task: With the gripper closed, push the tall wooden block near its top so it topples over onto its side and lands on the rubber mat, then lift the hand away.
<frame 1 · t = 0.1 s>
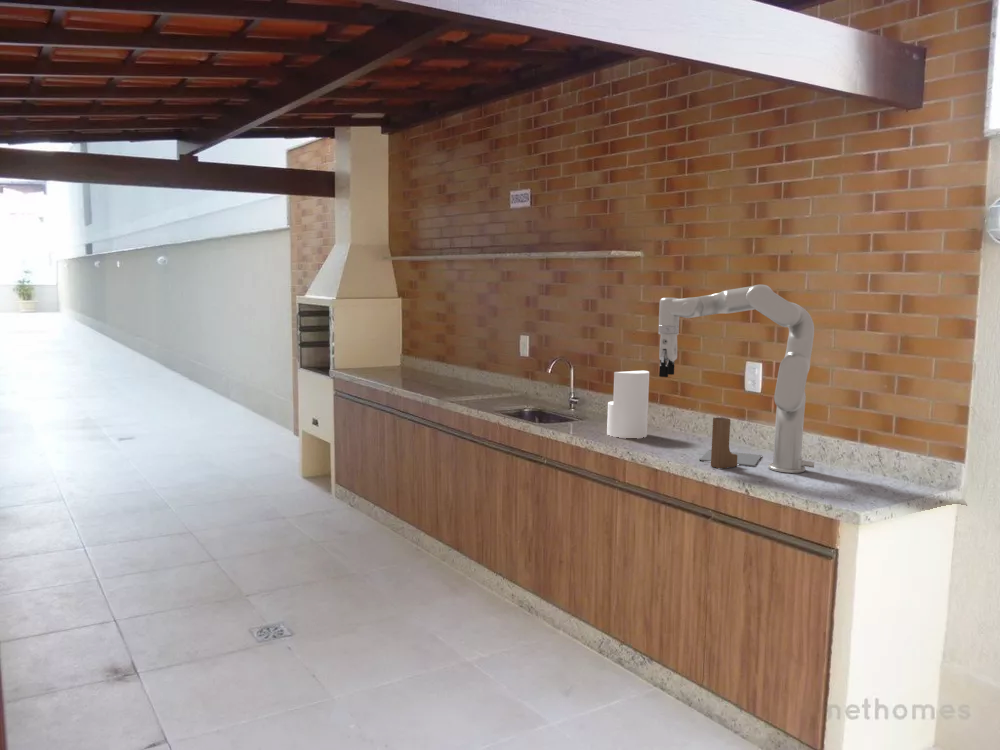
hand: (666, 375, 311), 31 cm above the worktop, tool pointing down, fingers open, 9 cm apart
stepped white pillar: (626, 435, 358), on the worktop
mat: (730, 458, 312), on the worktop
wooden block: (723, 467, 298), on the worktop
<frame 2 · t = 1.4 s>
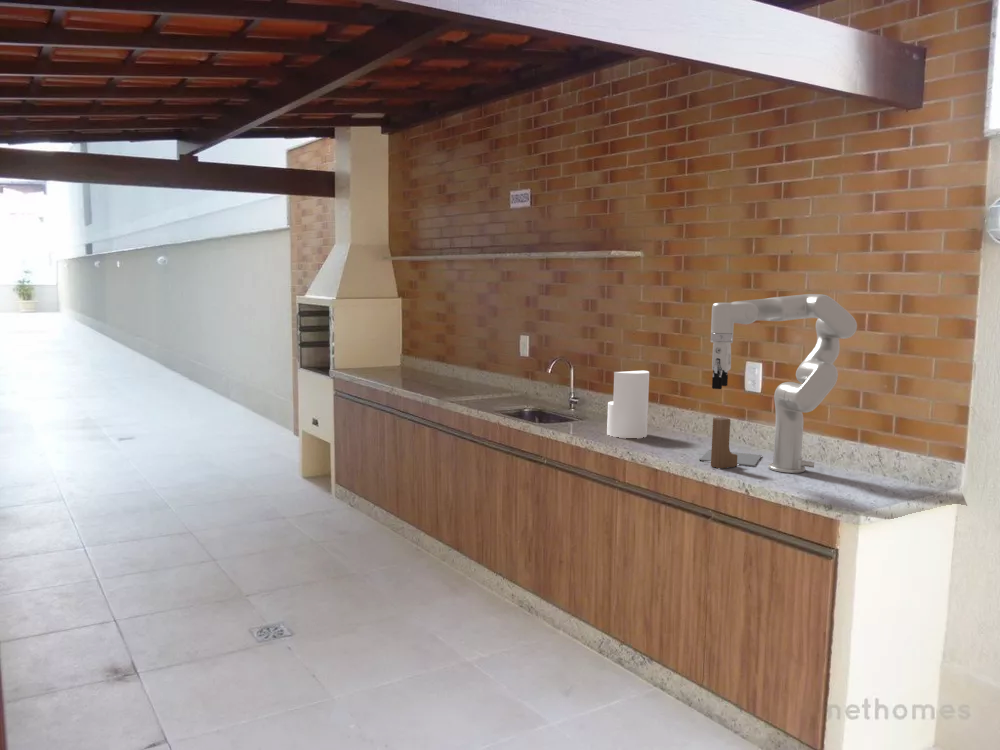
hand: (719, 387, 286), 30 cm above the worktop, tool pointing down, fingers open, 9 cm apart
nothing on the worktop moved.
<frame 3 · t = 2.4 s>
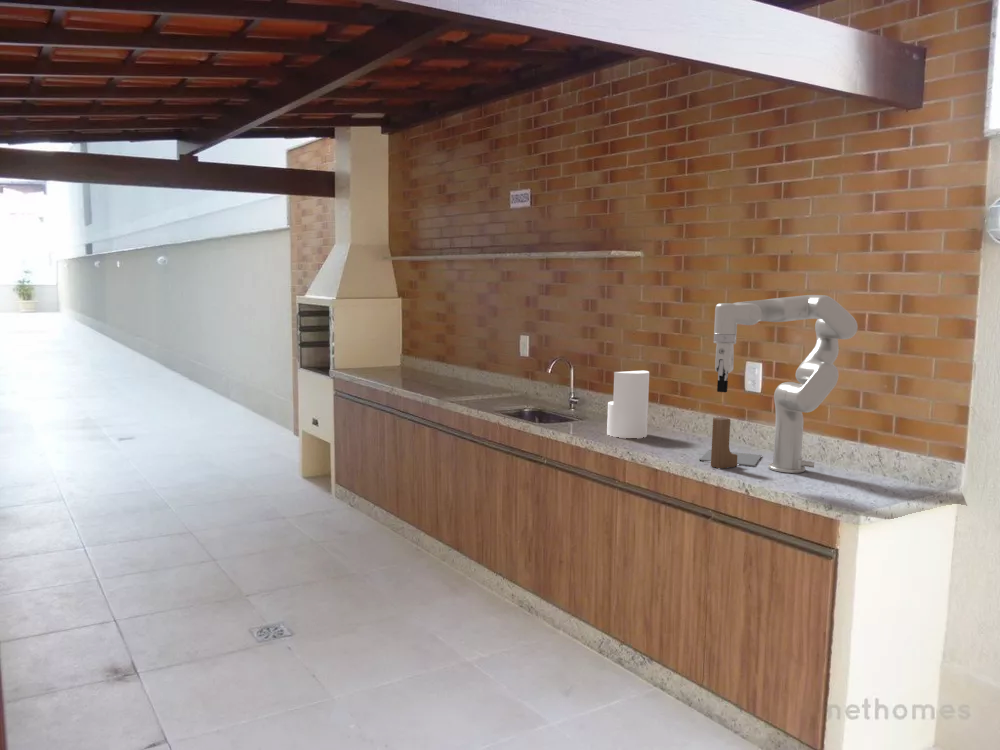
hand: (722, 391, 285), 29 cm above the worktop, tool pointing down, fingers closed
nothing on the worktop moved.
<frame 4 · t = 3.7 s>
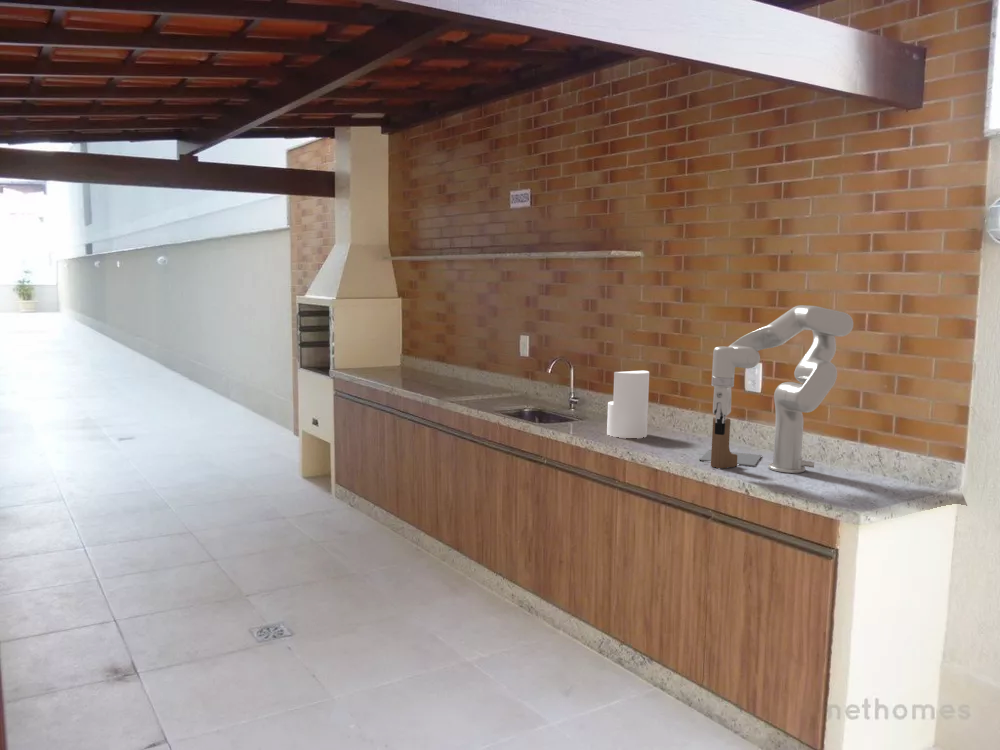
hand: (719, 434, 286), 14 cm above the worktop, tool pointing down, fingers closed
nothing on the worktop moved.
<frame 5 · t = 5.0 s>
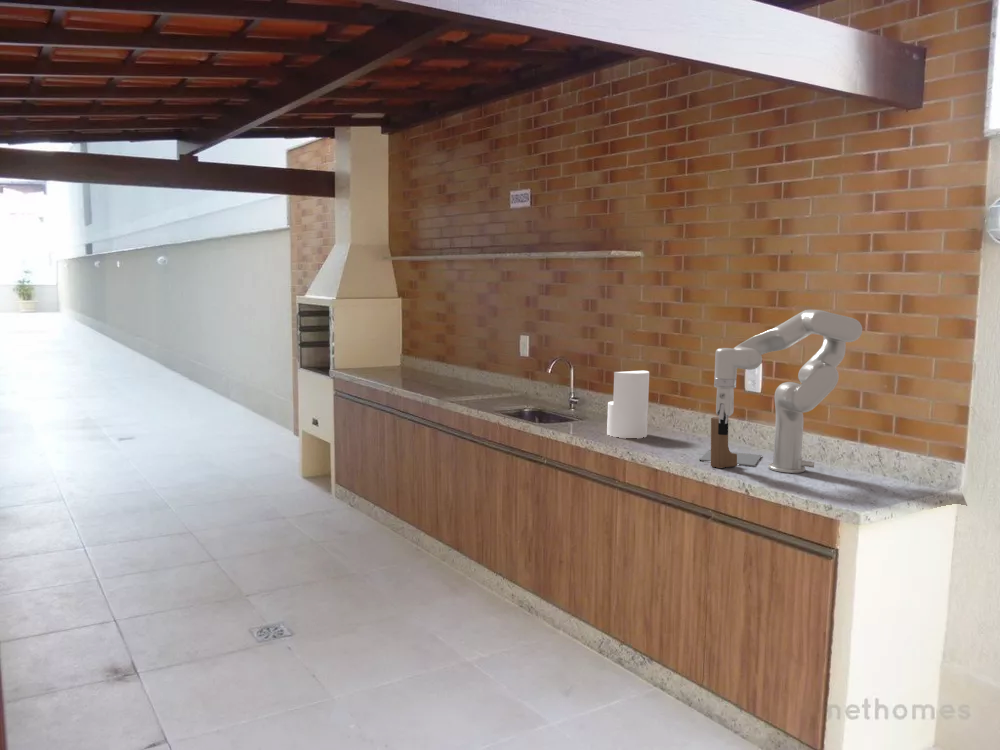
hand: (723, 434, 291), 13 cm above the worktop, tool pointing down, fingers closed
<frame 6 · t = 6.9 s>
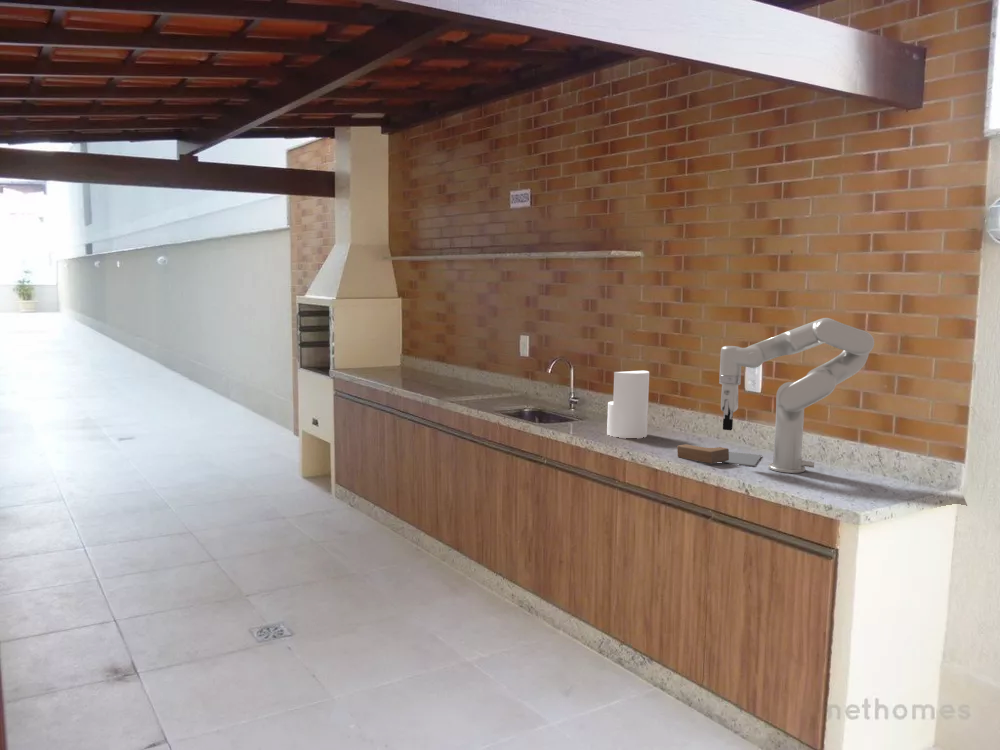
hand: (727, 429, 300), 13 cm above the worktop, tool pointing down, fingers closed
wooden block: (720, 456, 300), point 3 cm above the worktop, touching mat
everything else where it was.
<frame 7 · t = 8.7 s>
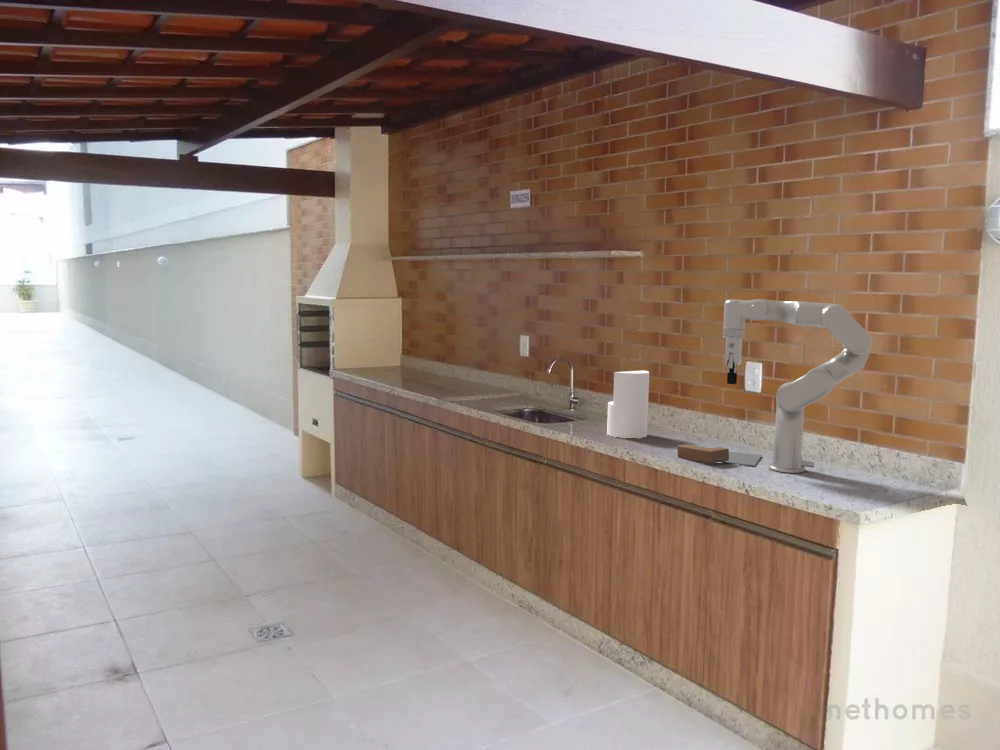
hand: (731, 383, 300), 30 cm above the worktop, tool pointing down, fingers closed
nothing on the worktop moved.
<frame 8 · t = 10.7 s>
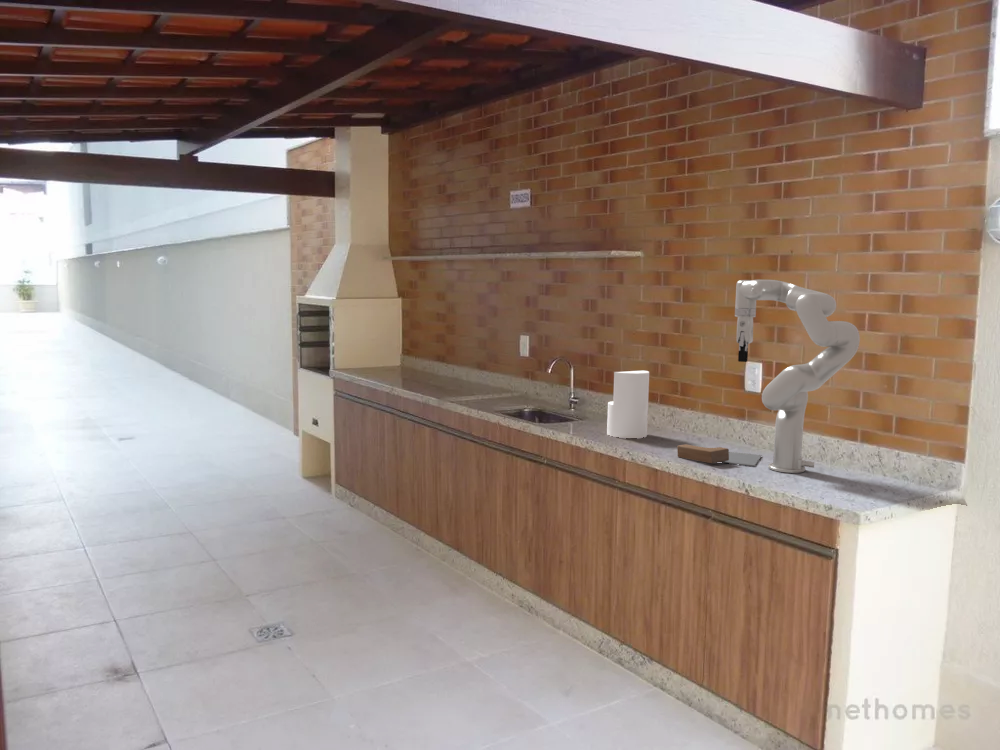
hand: (742, 361, 310), 37 cm above the worktop, tool pointing down, fingers closed
nothing on the worktop moved.
at the end: wooden block tilted 93°; wooden block touching mat, worktop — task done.
